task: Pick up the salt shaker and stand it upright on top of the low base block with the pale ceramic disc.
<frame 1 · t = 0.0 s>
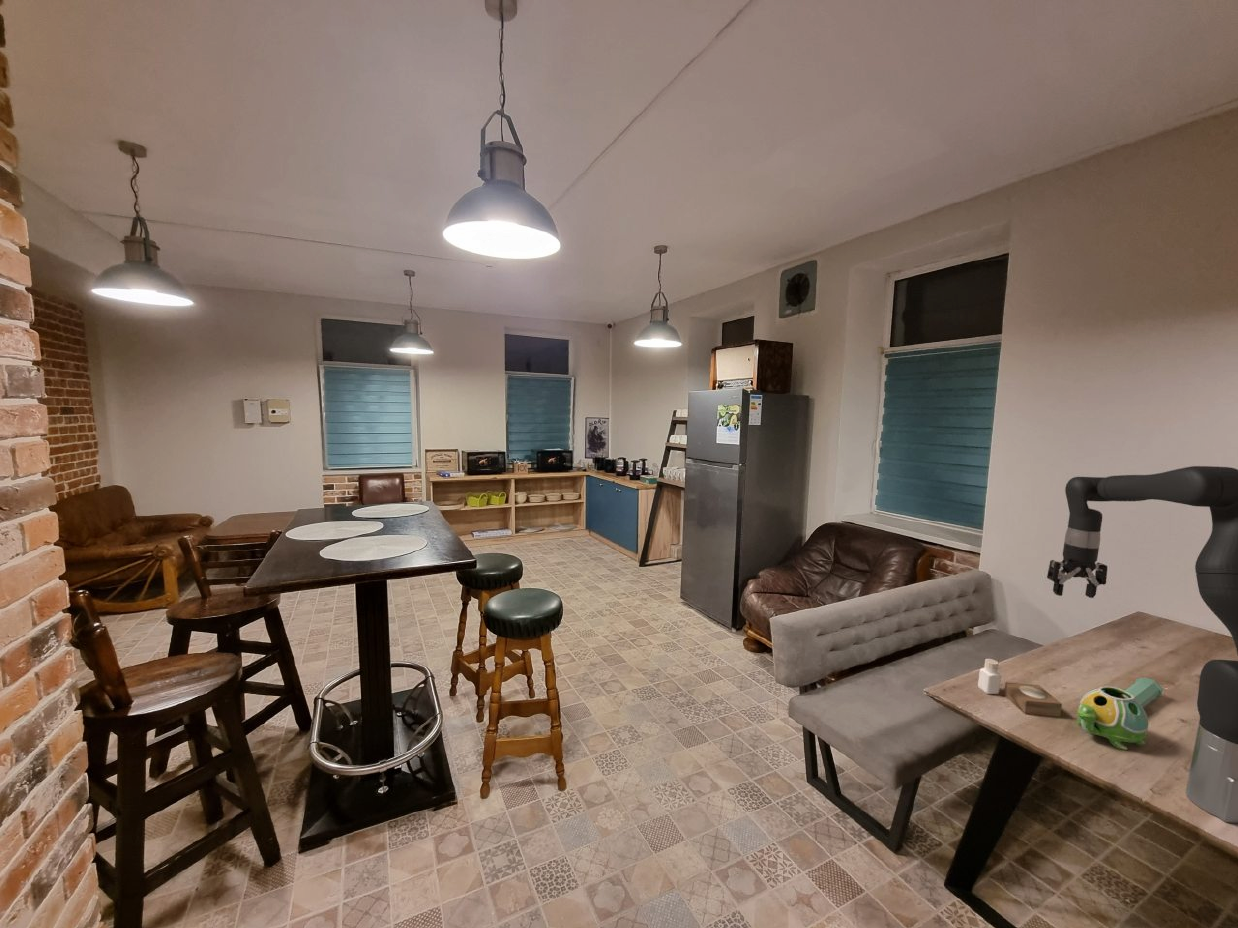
hand: (1073, 595, 147), 29 cm above the table, fingers open, 8 cm apart
container: (1131, 708, 141), on the table
base: (1030, 705, 141), on the table
turtle holder: (1105, 736, 129), on the table
salt shaker: (987, 691, 148), on the table
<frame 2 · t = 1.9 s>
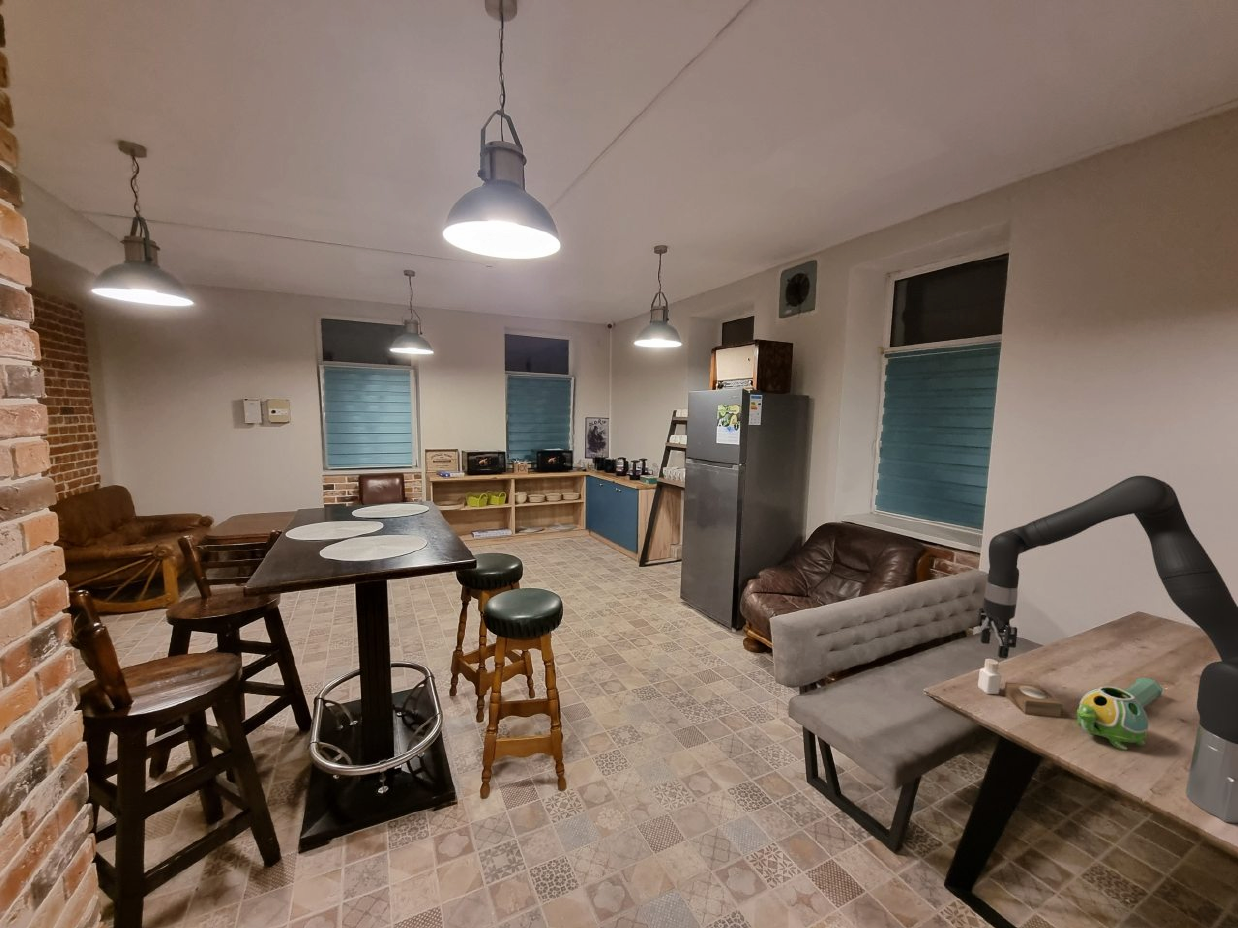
hand: (993, 649, 146), 13 cm above the table, fingers open, 8 cm apart
nothing on the table moved.
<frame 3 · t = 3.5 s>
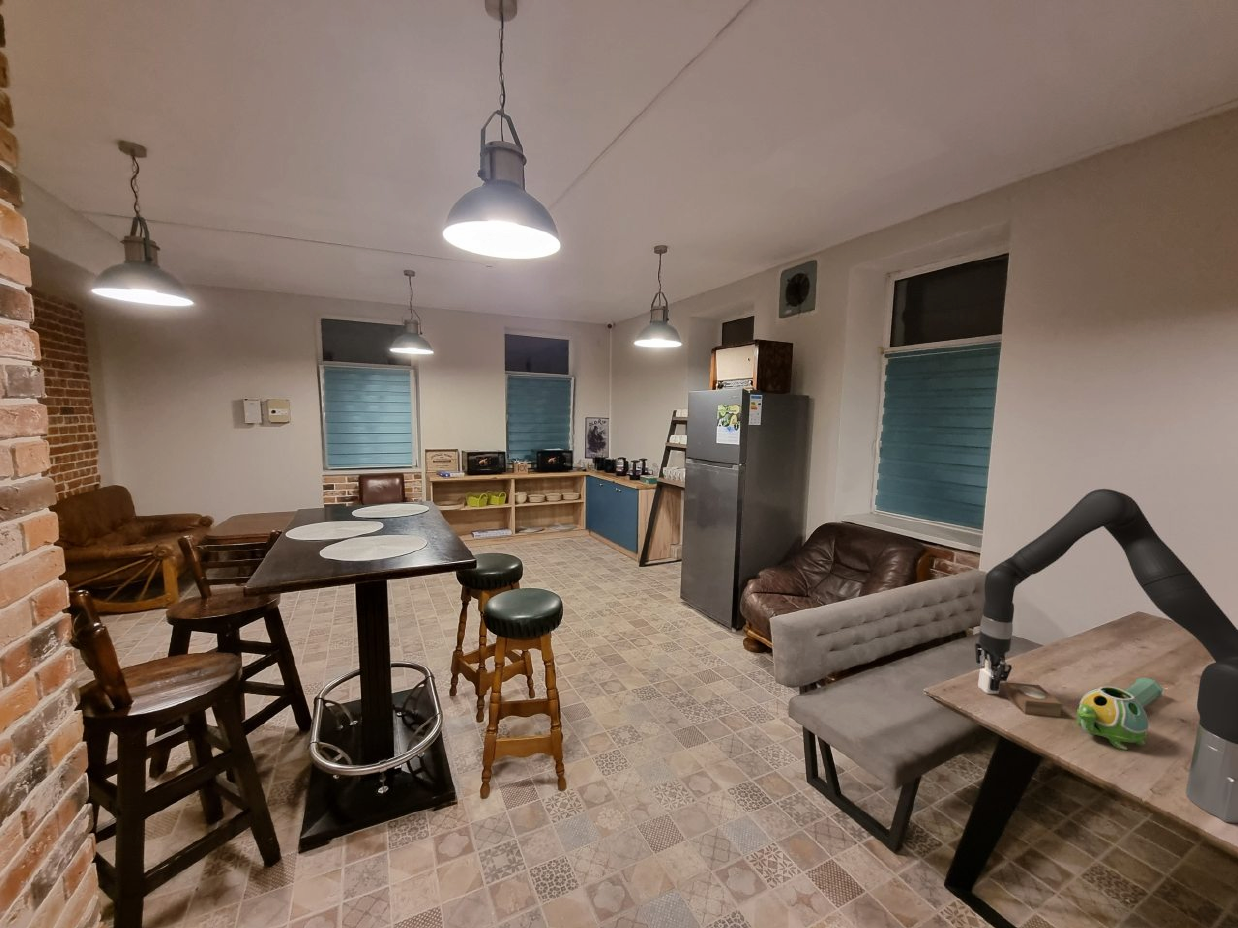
hand: (988, 684, 148), 2 cm above the table, fingers closed on salt shaker, 4 cm apart
salt shaker: (988, 691, 148), on the table, touching gripper
everything else where it was.
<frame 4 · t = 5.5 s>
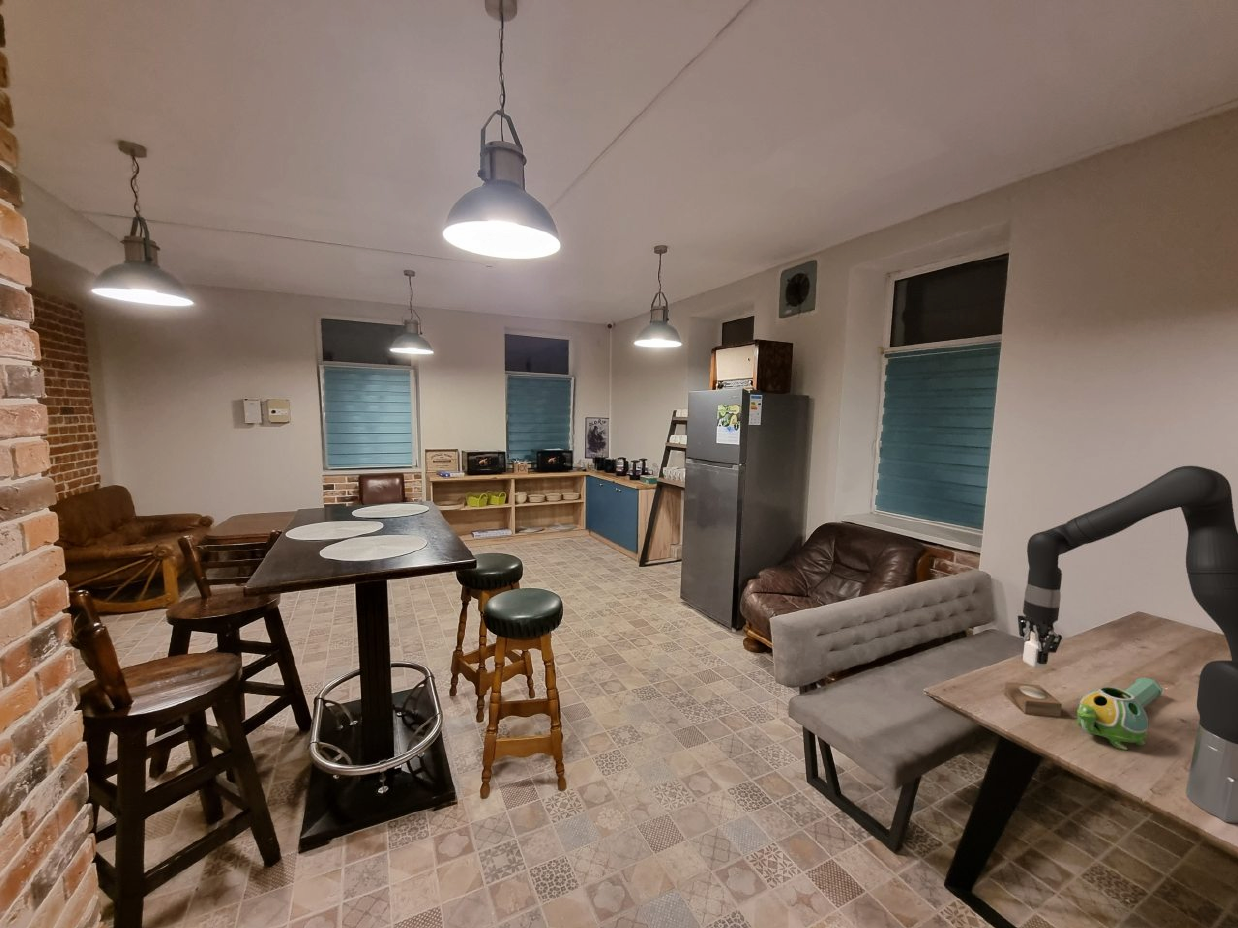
hand: (1035, 658, 139), 15 cm above the table, fingers closed on salt shaker, 4 cm apart
salt shaker: (1034, 665, 139), point 12 cm above the table, touching gripper
everything else where it was.
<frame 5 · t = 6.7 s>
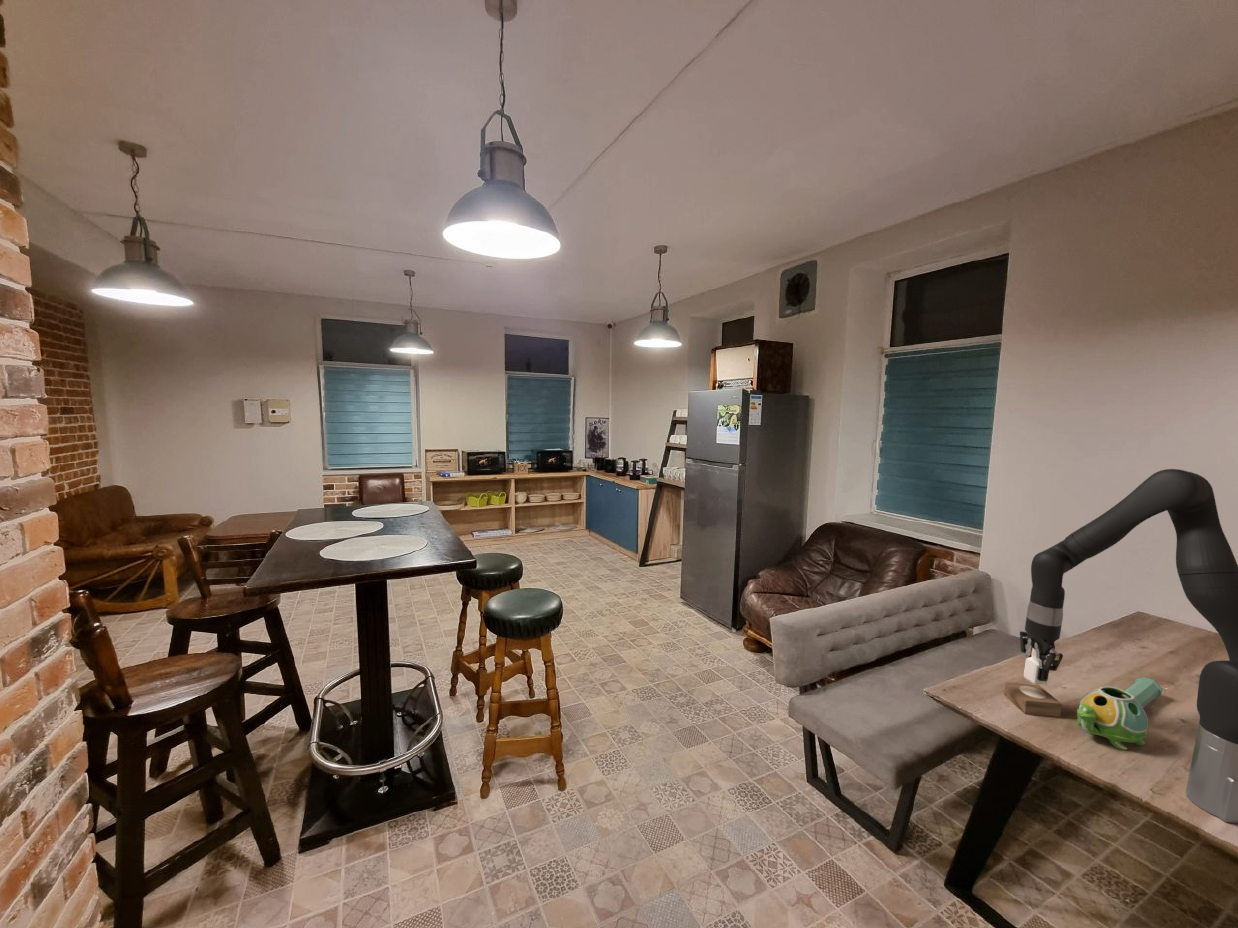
hand: (1035, 675, 140), 9 cm above the table, fingers closed on salt shaker, 4 cm apart
salt shaker: (1034, 681, 140), point 7 cm above the table, touching gripper
everything else where it was.
when the fingers open (6 cm above the table, at t = 7.6 s): salt shaker stays where it is, resting on base.
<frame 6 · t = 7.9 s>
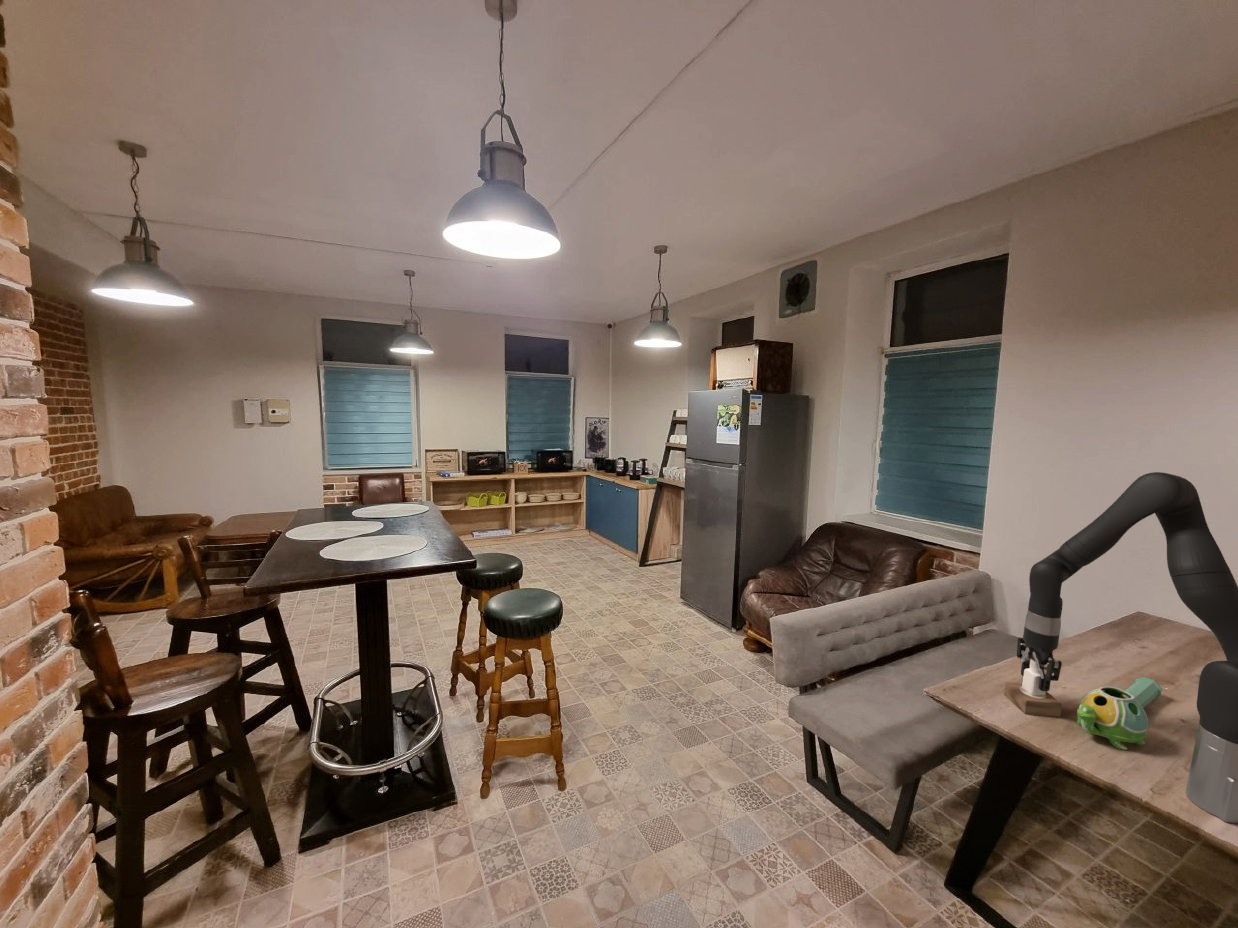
hand: (1034, 682, 140), 7 cm above the table, fingers open, 6 cm apart
salt shaker: (1033, 692, 140), point 4 cm above the table, touching base
everything else where it was.
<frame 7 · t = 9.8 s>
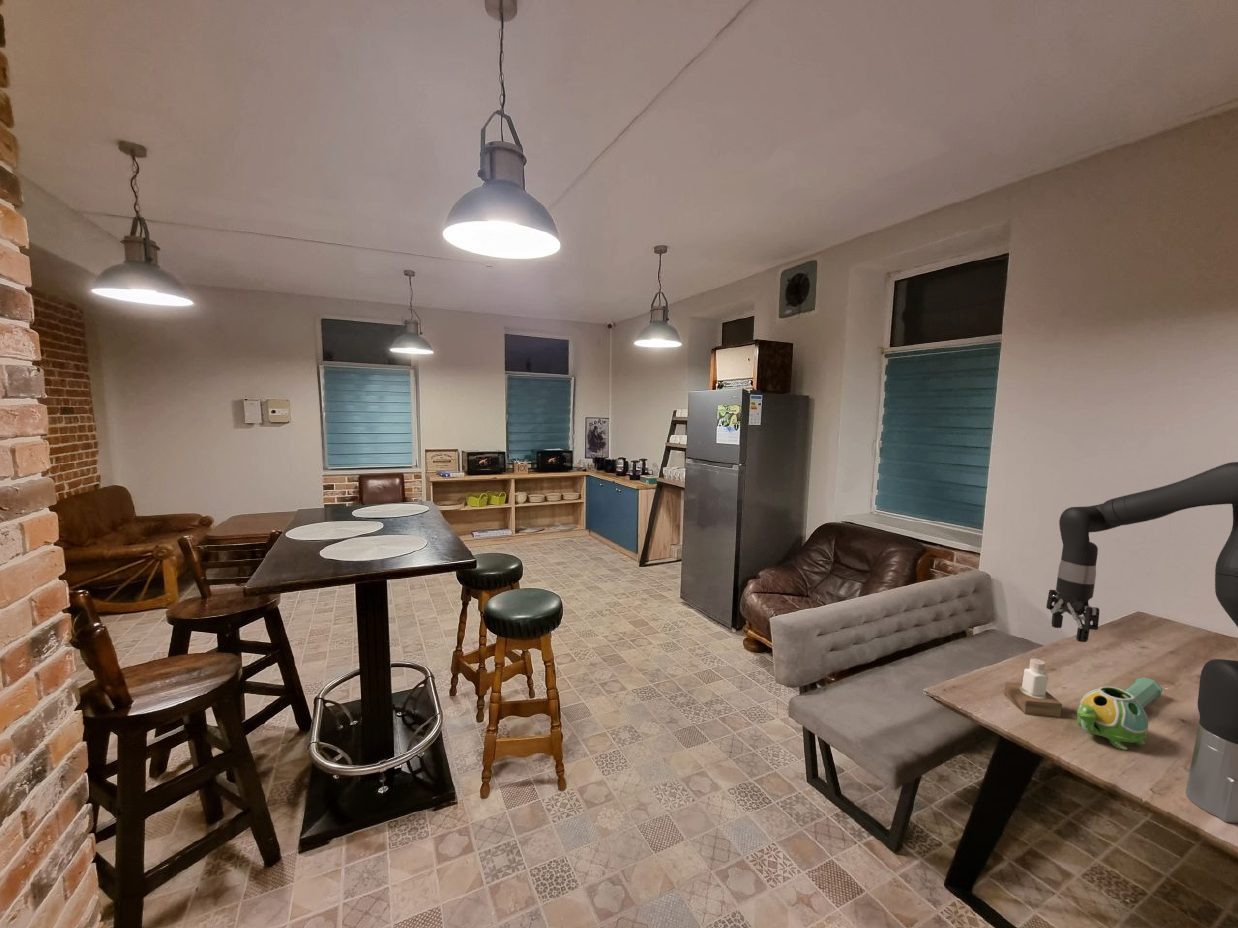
hand: (1068, 634, 136), 23 cm above the table, fingers open, 8 cm apart
nothing on the table moved.
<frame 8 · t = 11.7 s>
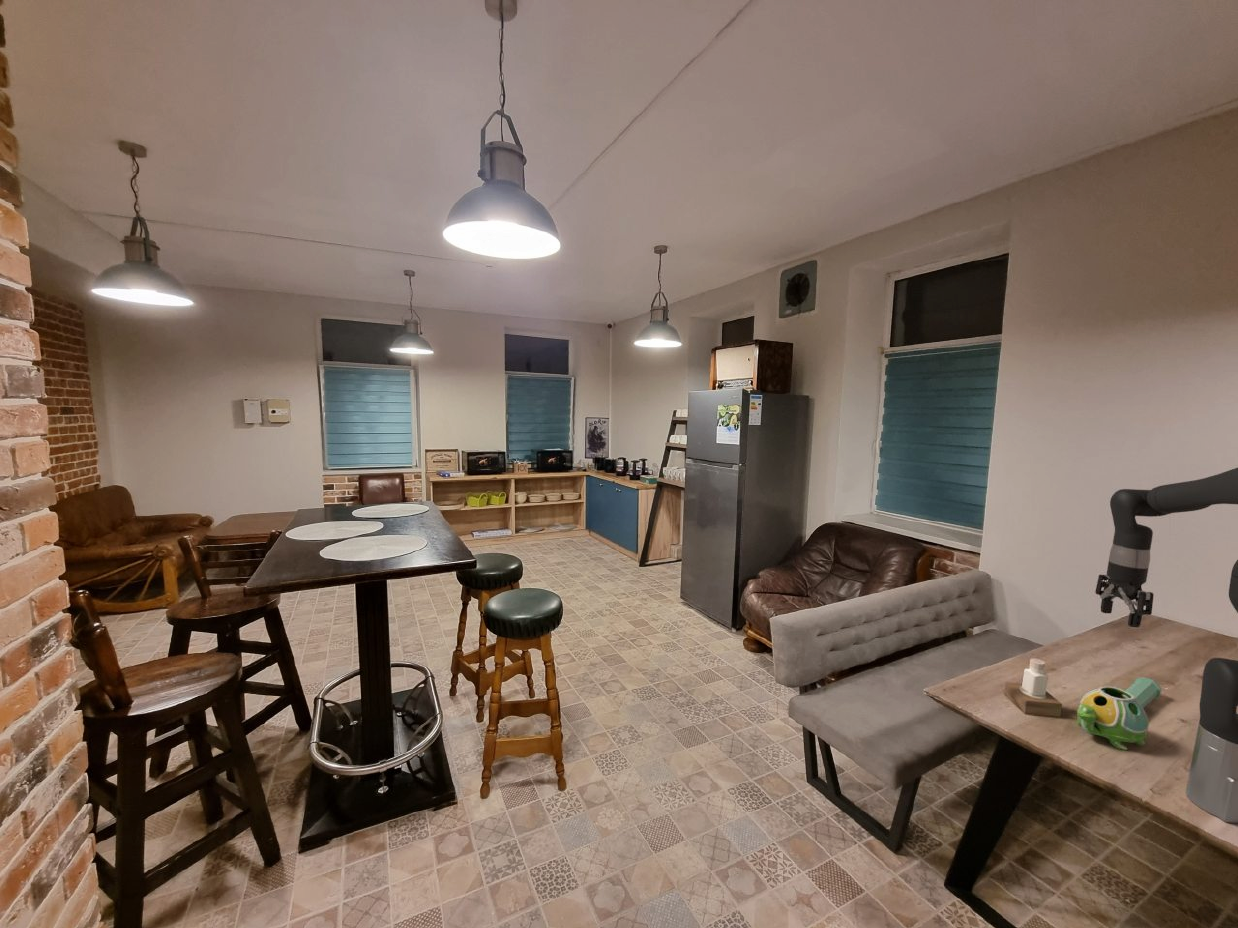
hand: (1119, 619, 134), 28 cm above the table, fingers open, 8 cm apart
nothing on the table moved.
at the end: salt shaker 0.1 cm off-centre on the base, point 4.0 cm above the base's base; salt shaker tilted 0°; the gripper is holding nothing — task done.
